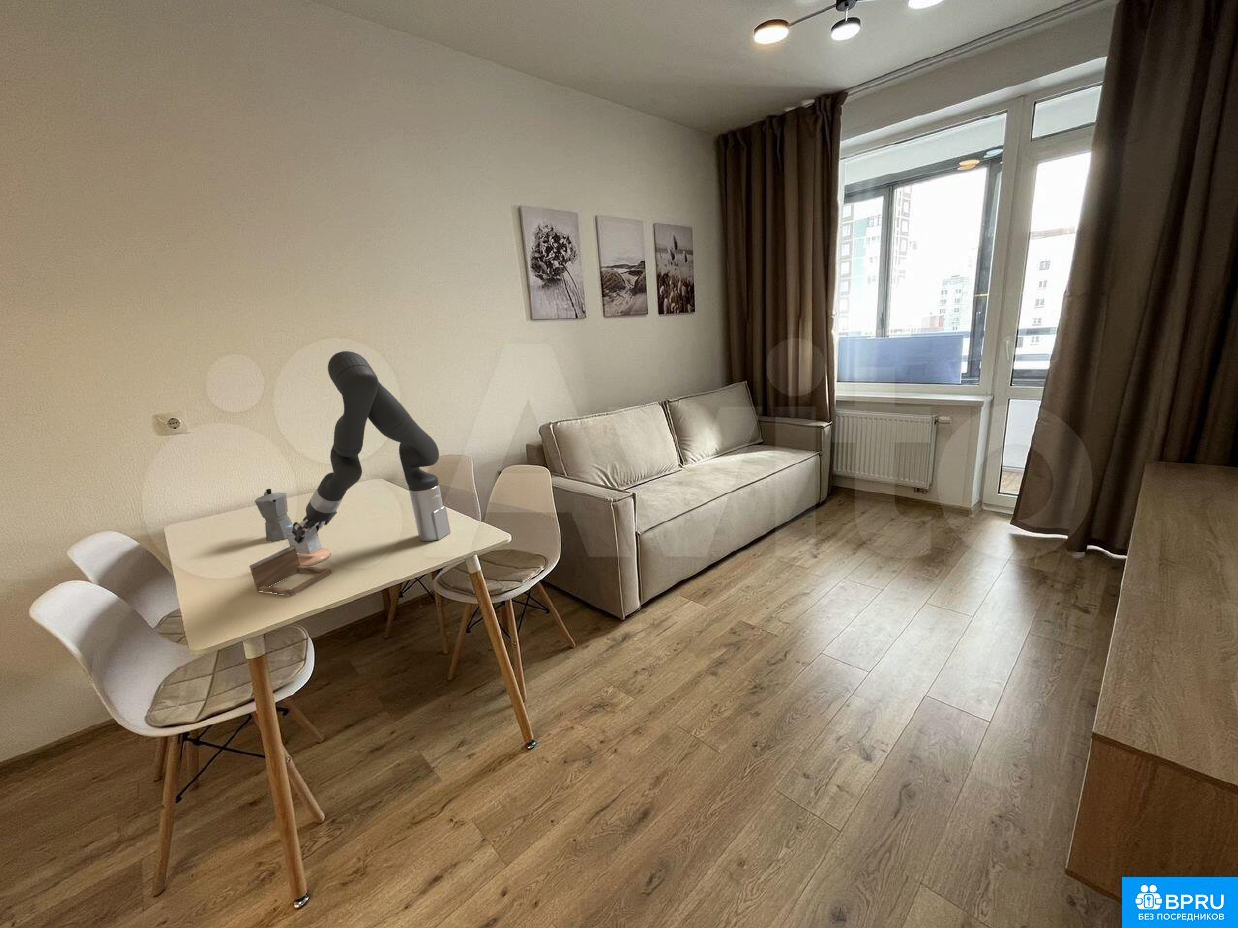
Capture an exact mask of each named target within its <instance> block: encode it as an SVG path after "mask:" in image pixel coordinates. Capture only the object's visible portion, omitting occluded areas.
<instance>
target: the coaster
mask: <svg viewBox="0 0 1238 928" xmlns="http://www.w3.org/2000/svg"><path fill="white" fill-rule="evenodd" d="M297 555H298V558H299V562H300V566H309V567H313V566H315V565H317V564H319V563H322V562H324V561H326V560H327V559H329V558H330V557H331V555H332V552H331V549H329V548H327V547H326V548H325V547H322V548H321V549H320V550H318V551H316V552H314V553H312V554H303V553H297Z"/></svg>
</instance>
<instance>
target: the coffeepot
mask: <svg viewBox="0 0 1238 928" xmlns="http://www.w3.org/2000/svg"><path fill="white" fill-rule="evenodd" d="M254 503H255V505H256V508H257V509H258V511H259V513H260V515H261V517H262V518H263V519H264V521H265V523H264V525H265V527H264V528H265V539H266V541H267V542H269V541H276V542H281V541H285V540H288V538H287V534H286V531H285V528H286V527H287V526H289V525H292V524H293V522H292V520H291V518H290V517H289V515H288V511H289V509H288V500H287V493H286V492H273V493H272V489H271V488H266V489H265V492H264V493H263V495H262V496H260V497H257V498H256V499H255V500H254ZM280 540H281V541H280Z"/></svg>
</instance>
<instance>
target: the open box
mask: <svg viewBox="0 0 1238 928" xmlns="http://www.w3.org/2000/svg"><path fill="white" fill-rule="evenodd" d="M295 548H296V547H295V545H292V546H290V545H289V546H288V547H286V548H284V549H281V550H279V551H278V552H276V553H274V554H271V555H269V556H267V557H265V558H262V559H261V560H258V561H256V562H254V563H253V564H250V565H249V566H248V568H249V569H250V571H251V576H252V578H253V579H252V580H253V581H254V586H255V588H256V592H257V591H263V592H272V593H277V594H284V595H289V596H288V597H293V595H294V596H295V595H297V594H299V593H301V592H302V591H304V590H306V589H308V588H309V587H311V586H313V585H315V584H316V583H318V582H319V581H322V580H323V579H325V578H326V577H328V576H330V575H332V574H333V571H332V568H329V567H320V566H319V567H318V566H300V562H299V558H298V555H297V554H298V553H297V551H296V549H295ZM298 573H306V574H307V573H309V574H316V575H314V576H312V577H311V578H309V579H307V580H305V581H304V582H301V583H300V584H298V585H296V586H295V587H292V588H286V587H285V588H284V587H283V588H282V587H275V586H274V585H273V584H275V583H277V582H279V581H281V580H282V581H284V580H286V579H288V578H290V577H291V576H294V575H295V574H298ZM289 576H290V577H289ZM285 578H286V579H285ZM283 579H284V580H283ZM282 581H281V582H282ZM279 583H280V582H279ZM277 584H278V583H277ZM271 585H273V586H271ZM275 585H276V584H275ZM269 586H271V587H269ZM300 591H301V592H300ZM298 592H299V593H298ZM296 593H297V594H296ZM284 595H283V596H284Z"/></svg>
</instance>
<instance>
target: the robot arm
mask: <svg viewBox="0 0 1238 928" xmlns="http://www.w3.org/2000/svg"><path fill="white" fill-rule="evenodd" d="M327 372H328V377H329V378H330V380H331V381H332V383H333V385H334V386H335V387H336V389H337V391H338V393H340V394H341V397H342V401H343V414H342V415H341V416H340V417H339V418H338V420H337V421H336V423H335V426H334V432H333V444H332V447H331V450H330V456H329V458H330V464H331V468H332V472H329V473H326V475H324V476H323V478H322V480H321V481H320V483H319V485H318V487H317V489H316V490H315V491H314V492H313V494H312V496H311V497H310V499H309V501H308V503H307V505H306V507H305V516H304V517H303V519H302V521H300V522H299V523H297V522H298V521H296V522H294V523H292V524H293V528H292V533H293V534H294V535H295V538H294V540H295V541H296V542H297V543H301V542H302V541H303V539H304V537H305V535H306V534H307V533H308V532H311V531H312V529H313V528H314V527H315V526H316V529H317V533H318V532H319V530H321V529H323V527H324V526H328V524H330V522H331V521H332V519H333V518H334V517H335V516H336V515H337V514H338V512H337V510H338V509H339V507H340V505H341V503H342V501H343V498H344V497H345V495H346V493H347V491H348V490H350V488H352V487H353V486H354V485H356V483H358V482H359V480H360V479H361V478H362V473H363V467H362V465H361V461H360V457H359V454H360V453H361V451H362V449H363V445H364V438H365V430H366V425H367V420H369V421H370V422H371V424H372V425H373V426H374V427H375V428H376V429H377V430H378V432H380V433H381V434H382V435H383V436H384V437H386V438H388V439H390V440H392V441H395V442H397V443H399V446H398V453H399V460H400V463H401V467H402V470H403V474H404V479H405V482H406V485H407V487H408V490H409V491H408V492H409V496H410V502H411V505H412V511H413V515H414V519H415V521H414V522H415V524H416V530H417V534H418V539H419V540H420V541H422V542H432V541H439V540H441V539H443V538H444V537H446V536H447V535H449V534H450V533H451V527H450V522H449V518H448V512H447V507H446V505H444V503H443V498H442V494H441V488H440V482H439V478H438V476H437V475H435V474H432V473H429V472H426V471H424V470H422V469H421V468H422V467H424V468H425V467H431V466H433V465H435V464H437V463H438V461H439V459H440V451H439V447H438V445H437V443H436V442H435V440H434V439H433V437H431V435H429V434H428V433H427V432H425V431H424V429H422V428H421V427H420V425H418V423H417V422H416V421H415V420H414V419H413V417H412V416H411V414H410V413H409V412H408V410H407V409H406V408H405V407H404V406H403V405H402V403H401V402H399V400H398V399H397V398H396V397H395V396H394V395H393V394H392V393H391V392H390V391H389V390H388V389H387V388H386V387H385V386H384V385H382V383H380V380H379V378H378V375H377V374H376V373H375V371H374V370H373V368H372V366H371V364H370V363H368V361H367V360H366V359H365V357H363V356H362V355H361V354H360V353H357V352H354V351H350V350H345V351H344V350H342V351H339V352H336V353H335V354H333V355H332V356H331V358H330V359H329V360H328V363H327ZM309 527H310V528H309ZM303 529H304V530H305V531H304V532H303V531H302V530H303Z"/></svg>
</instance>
